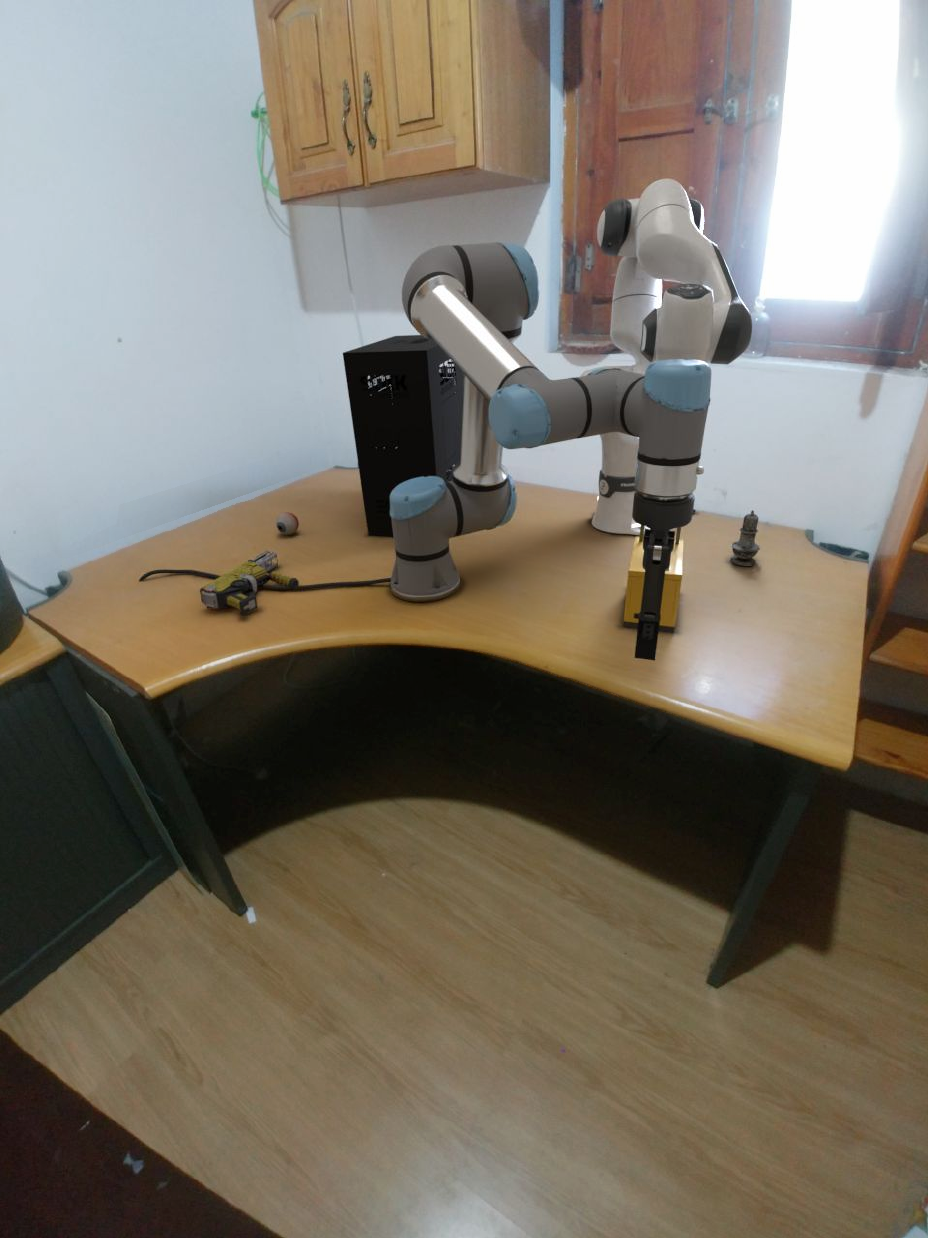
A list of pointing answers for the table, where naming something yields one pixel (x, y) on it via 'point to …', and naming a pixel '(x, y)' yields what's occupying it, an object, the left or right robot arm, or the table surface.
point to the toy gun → (243, 584)
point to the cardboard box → (402, 418)
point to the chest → (667, 605)
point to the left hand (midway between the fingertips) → (647, 632)
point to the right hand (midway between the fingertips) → (667, 469)
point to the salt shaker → (746, 542)
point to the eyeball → (287, 523)
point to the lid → (675, 559)
